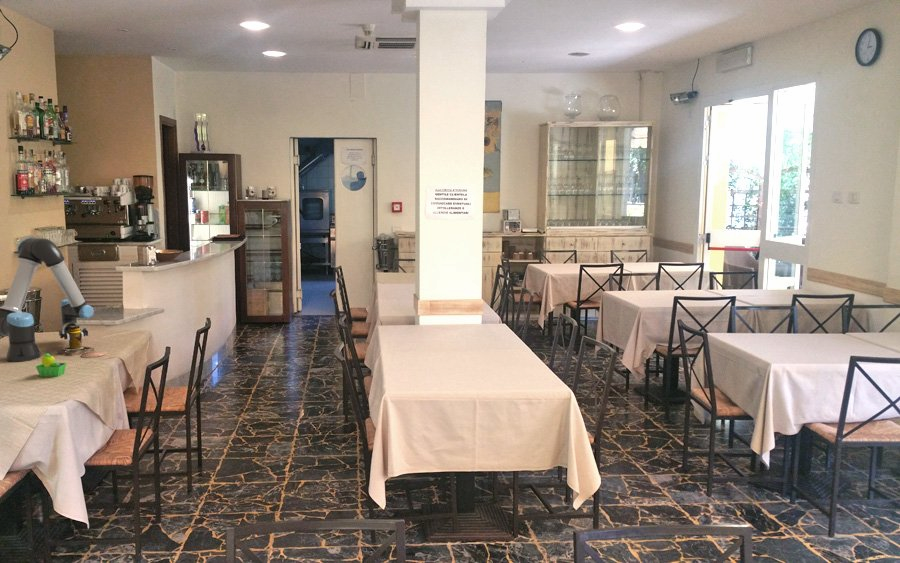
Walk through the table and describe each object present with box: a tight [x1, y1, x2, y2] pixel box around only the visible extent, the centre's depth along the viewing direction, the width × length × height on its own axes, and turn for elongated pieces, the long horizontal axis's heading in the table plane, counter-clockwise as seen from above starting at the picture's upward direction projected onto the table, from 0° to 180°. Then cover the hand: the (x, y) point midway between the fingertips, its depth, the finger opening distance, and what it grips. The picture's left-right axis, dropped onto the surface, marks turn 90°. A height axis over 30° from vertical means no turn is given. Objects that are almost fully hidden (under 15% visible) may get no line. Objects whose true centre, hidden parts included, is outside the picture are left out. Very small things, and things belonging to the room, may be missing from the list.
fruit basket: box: [35, 353, 67, 378], centre depth 352 cm, size 11×9×11 cm
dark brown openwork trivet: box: [56, 346, 95, 357], centre depth 399 cm, size 13×12×2 cm
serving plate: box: [81, 350, 108, 358], centre depth 392 cm, size 12×12×1 cm
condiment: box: [63, 325, 84, 351], centre depth 398 cm, size 7×8×12 cm
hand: (75, 337), depth 394 cm, fingers closed on condiment, 6 cm apart
